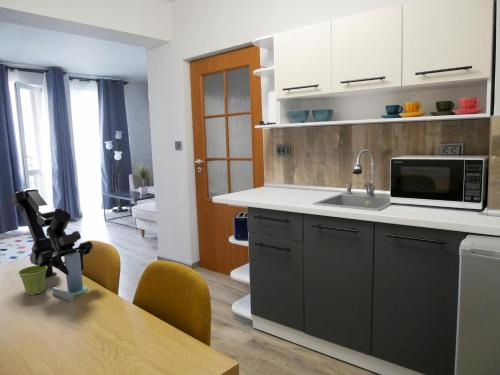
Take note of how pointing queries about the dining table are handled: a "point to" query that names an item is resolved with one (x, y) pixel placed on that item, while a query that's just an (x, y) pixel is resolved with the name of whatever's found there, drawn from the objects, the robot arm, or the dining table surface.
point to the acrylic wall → (62, 293)
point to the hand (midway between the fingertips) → (75, 272)
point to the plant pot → (33, 279)
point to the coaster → (78, 291)
